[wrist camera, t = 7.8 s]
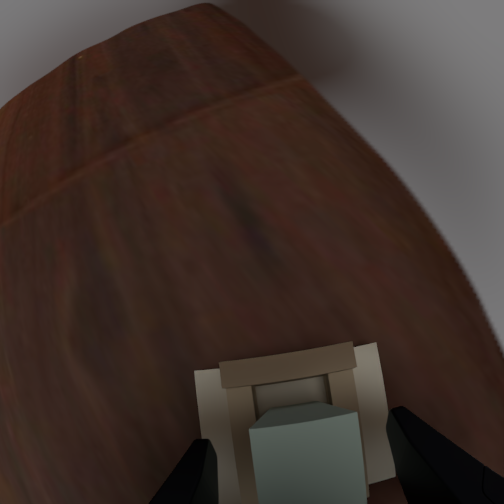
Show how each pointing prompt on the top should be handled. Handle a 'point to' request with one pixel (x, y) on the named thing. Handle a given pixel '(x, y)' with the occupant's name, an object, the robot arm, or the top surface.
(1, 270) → the top surface
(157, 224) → the top surface
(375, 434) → the groove base
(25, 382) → the top surface
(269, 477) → the plank
